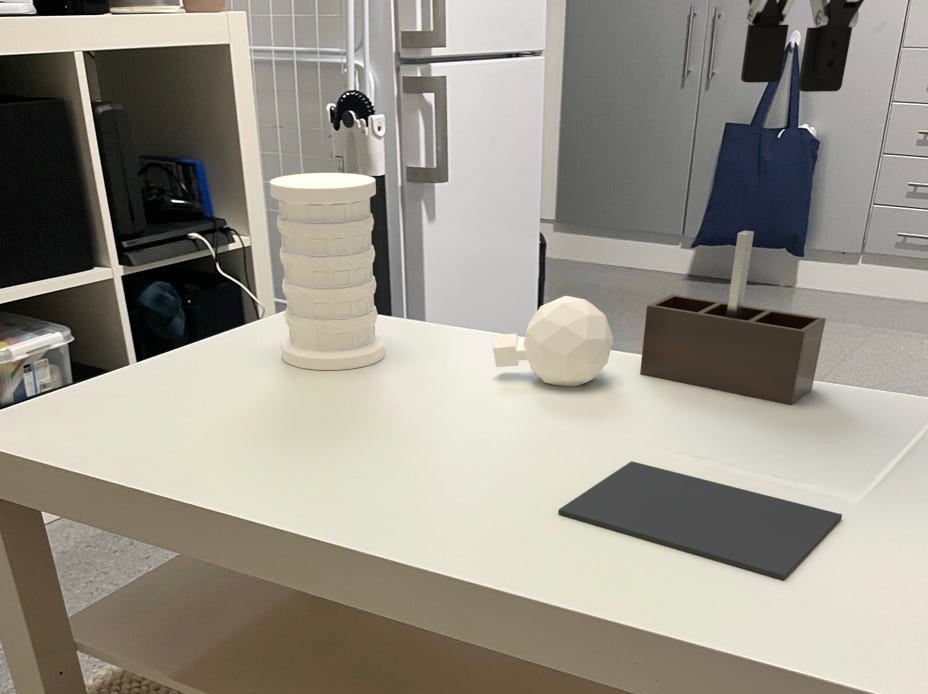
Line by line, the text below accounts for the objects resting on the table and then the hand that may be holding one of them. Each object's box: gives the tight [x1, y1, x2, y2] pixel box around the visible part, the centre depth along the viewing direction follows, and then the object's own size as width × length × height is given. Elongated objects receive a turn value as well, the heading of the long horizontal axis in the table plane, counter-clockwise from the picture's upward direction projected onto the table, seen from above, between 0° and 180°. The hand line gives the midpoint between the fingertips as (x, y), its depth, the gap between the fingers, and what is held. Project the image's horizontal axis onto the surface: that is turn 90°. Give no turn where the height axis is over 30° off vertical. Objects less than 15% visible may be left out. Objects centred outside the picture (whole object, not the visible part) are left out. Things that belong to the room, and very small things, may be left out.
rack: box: [639, 293, 826, 406], centre depth 102 cm, size 6×16×8 cm, turn 54°
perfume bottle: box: [492, 295, 614, 387], centre depth 103 cm, size 9×9×12 cm
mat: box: [557, 460, 843, 581], centre depth 78 cm, size 18×12×1 cm, turn 54°
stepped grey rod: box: [726, 230, 755, 320], centre depth 100 cm, size 1×3×14 cm, turn 144°
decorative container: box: [269, 172, 386, 371], centre depth 109 cm, size 12×12×18 cm
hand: (788, 86), depth 78 cm, fingers open, 9 cm apart
